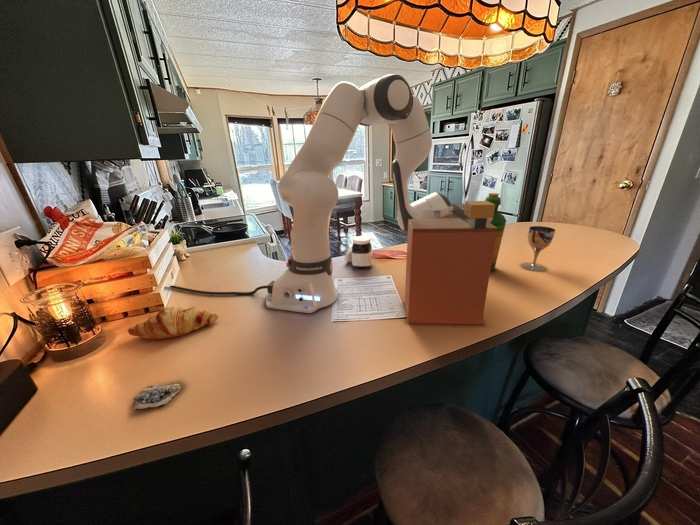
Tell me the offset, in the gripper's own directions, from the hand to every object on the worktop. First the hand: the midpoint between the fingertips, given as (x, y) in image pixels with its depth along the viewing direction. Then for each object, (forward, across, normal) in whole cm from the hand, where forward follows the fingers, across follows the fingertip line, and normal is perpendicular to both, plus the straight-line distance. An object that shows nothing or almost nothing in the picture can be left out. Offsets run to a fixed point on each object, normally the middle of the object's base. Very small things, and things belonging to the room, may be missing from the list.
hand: (462, 208), depth 76 cm
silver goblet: (-35, +36, +12) cm, 52 cm away
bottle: (-34, +17, +12) cm, 40 cm away
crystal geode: (+22, -66, +45) cm, 83 cm away
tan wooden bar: (+3, 0, +4) cm, 5 cm away
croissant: (+4, -77, +34) cm, 84 cm away
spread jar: (-37, -31, +11) cm, 50 cm away
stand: (-6, -6, +29) cm, 30 cm away
